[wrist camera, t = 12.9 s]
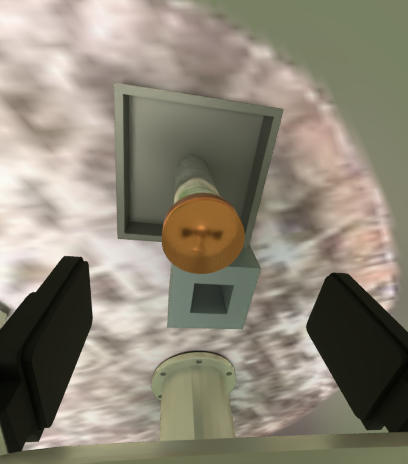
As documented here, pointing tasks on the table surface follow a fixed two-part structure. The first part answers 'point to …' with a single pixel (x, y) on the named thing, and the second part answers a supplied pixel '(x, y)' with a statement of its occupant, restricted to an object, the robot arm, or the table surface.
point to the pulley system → (2, 318)
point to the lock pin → (200, 222)
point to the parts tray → (187, 153)
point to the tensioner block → (213, 295)
